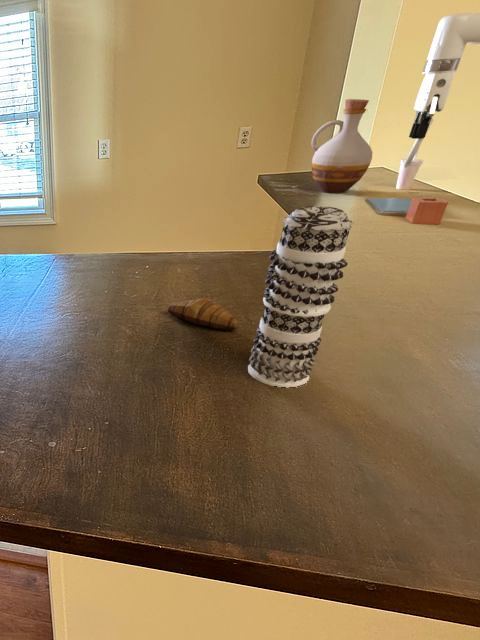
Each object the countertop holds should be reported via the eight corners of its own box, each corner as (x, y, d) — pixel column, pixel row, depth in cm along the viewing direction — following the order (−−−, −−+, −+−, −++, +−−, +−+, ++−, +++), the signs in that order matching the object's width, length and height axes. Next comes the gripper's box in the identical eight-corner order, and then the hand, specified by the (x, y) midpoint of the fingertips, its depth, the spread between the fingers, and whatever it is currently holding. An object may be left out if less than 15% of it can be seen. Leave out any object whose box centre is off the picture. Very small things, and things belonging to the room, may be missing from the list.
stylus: (407, 167, 150) (433, 117, 142) (408, 168, 148) (435, 118, 141) (401, 166, 150) (427, 117, 142) (403, 167, 149) (428, 117, 141)
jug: (294, 193, 177) (315, 102, 162) (305, 184, 189) (326, 98, 174) (357, 197, 166) (386, 99, 151) (365, 188, 177) (393, 96, 162)
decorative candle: (254, 388, 71) (294, 220, 59) (238, 358, 79) (270, 203, 67) (321, 390, 70) (377, 218, 57) (298, 359, 77) (343, 201, 65)
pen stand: (432, 218, 139) (440, 197, 136) (439, 224, 134) (448, 202, 131) (405, 218, 141) (412, 197, 138) (411, 223, 136) (419, 201, 133)
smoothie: (414, 190, 169) (429, 147, 162) (392, 190, 172) (406, 148, 165) (412, 187, 173) (426, 145, 166) (390, 186, 176) (403, 145, 169)
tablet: (416, 201, 156) (417, 198, 156) (436, 216, 141) (437, 212, 140) (365, 200, 162) (366, 197, 161) (379, 214, 146) (380, 211, 145)
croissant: (244, 325, 89) (249, 301, 86) (228, 338, 85) (232, 313, 83) (177, 307, 98) (180, 284, 95) (159, 318, 94) (162, 295, 91)
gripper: (468, 66, 128) (440, 140, 137) (447, 66, 141) (423, 134, 150) (433, 68, 131) (408, 141, 140) (416, 68, 143) (394, 135, 152)
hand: (416, 137), depth 145 cm, fingers closed on stylus, 1 cm apart
